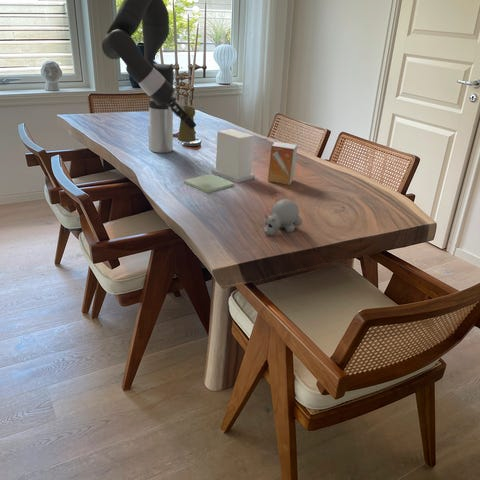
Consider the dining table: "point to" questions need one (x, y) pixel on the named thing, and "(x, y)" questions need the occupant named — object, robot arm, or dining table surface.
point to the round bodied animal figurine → (283, 217)
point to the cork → (185, 131)
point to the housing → (234, 155)
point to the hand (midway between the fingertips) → (192, 124)
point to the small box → (282, 162)
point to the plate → (208, 183)
